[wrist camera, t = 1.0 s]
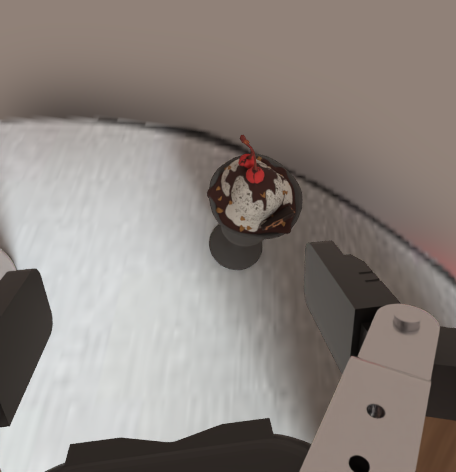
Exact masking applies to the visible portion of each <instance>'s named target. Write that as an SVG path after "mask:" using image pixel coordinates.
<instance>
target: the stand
mask: <svg viewBox="0 0 456 472" xmlns="http://www.w3.org/2000/svg"><path fill="white" fill-rule="evenodd" d="M415 472H456V421H453V420H447V419H440V418H433V417H426V416H425V420H424V426H423V431H422V437H421V443H420V448H419V454H418V459H417V465H416V471H415Z"/></svg>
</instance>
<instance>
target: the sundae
mask: <svg viewBox="0 0 456 472" xmlns="http://www.w3.org/2000/svg"><path fill="white" fill-rule="evenodd" d="M240 140H241V141H242V143H244V144H246V145H247V146H248V147H249V148H250V150H251V154H244V155H242V156H239V157H236V158H233V159H231V160H230V161H228V162H226V163H225V164H223V165H222V166H221V167H220V168H218V169H217V171H216V172H215V173H214V175H213V177H212V179H211V182H210V187H209V190H208V192H207V196H208V198H209V200H210V205H211V209H212V212H213V215H214V216H215V218H216V220H217V222H218V223H219V224H220V225H218V226H217V227H216V228H215V229H214V231H213V232H212V234H211V236H210V250H211V253H212V255H213V257H214V258H215V260H216V261H217V262H218V263H219V264H221V265H222V266H224V267H226V268H228V269H234V270H241V269H245V268H248V267H250V266H252V265H253V264H254V263H255V262H256V261H257V260H258V258H259V257H260V254H261V252H262V240H264V239H270V238H275V237H279V236H281V235H283V234H288V233H290V232H291V228H292V227H293V226H294V224H295V223H296V221H297V219H298V217H299V215H300V212H301V209H302V192H301V189H300V187H299V184H298V183H297V181H296V179H295V178H294V177H293V176H292V175H291V174H290V173H289V172H288V171H287V169H285V168H284V167H283V166H282V165H281V164H280V163H278V162H277V161H275V160H273V159H271V158H269V157H267V156H263V155H259V154H255V152H254V150H253V149H252V147H251V146H250V145H249V141H248V140H246V138H245V136H244V135H241V137H240Z"/></svg>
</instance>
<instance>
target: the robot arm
mask: <svg viewBox="0 0 456 472" xmlns="http://www.w3.org/2000/svg"><path fill="white" fill-rule="evenodd" d="M304 294H305V300H306V303H307V306H308V308H309V310H310V312H311V314H312V316H313V318H314V320H315V322H316V324H317V326H318V328H319V330H320V332H321V334H322V336H323V338H324V340H325V342H326V344H327V346H328V348H329V350H330V352H331V354H332V356H333V358H334V359H335V361H336V363H337V365H338V367H339V369H340V371H341V373H342V377H341V379H340V381H339V383H338V386H337V388H336V390H335V392H334V395H333V397H332V399H331V401H330V404H329V406H328V408H327V411H326V413H325V415H324V417H323V420H322V422H321V424H320V426H319V429H318V431H317V433H316V435H315V438H314V440H313V442H312V444H309V443H307V442H305V441H302V440H299V439H296V438H293V437H289V436H285V435H280V434H273V431H272V427H271V423H270V419H269V418H265V419H258V420H250V421H243V422H235V423H227V424H221V425H218V426H216V427H213V428H210V429H208V430H205V431H202V432H200V433H197V434H194V435H191V436H189V437H186V438H183V439H181V440H178V441H175V442H159V441H149V440H139V439H129V438H114V439H106V440H99V441H91V442H84V443H76V444H70V447H69V450H68V454H67V458H66V461H65V463H63V464H60V465H58V466H56V467H54V468H51V469H49V470H47V471H45V472H415V471H416V465H417V459H418V454H419V448H420V443H421V437H422V431H423V426H424V420H425V416H426V417H433V418H440V419H447V420H453V421H456V328H447V327H440V326H439V323H438V321H437V320H436V319H435V317H434V316H432V315H431V314H430V313H428V312H427V311H425V310H423V309H420V308H418V307H415V306H411V305H406V304H401V303H400V302H399V301H398V300H397V298H396V297H395V296H394V295H393V294H392V293H391V292H390V291H389V289H388V288H387V287H386V286H385V285H384V284H383V283H382V281H379V278H378V277H377V276H376V275H375V274H374V273H373V272H372V270H371V269H370V268H369V267H368V266H367V264H366V263H365V262H364V261H362V260H360V259H358V258H356V257H354V256H352V255H351V254H349V255H344V254H343V253H342V252H341V251H340V250H339V248H338V247H337V246H336V245H335V243H334V242H333V241H322V242H312V243H307V245H306V249H305V272H304ZM52 324H53V321H52V313H51V309H50V306H49V302H48V299H47V295H46V292H45V288H44V285H43V281H42V278H41V275H40V273H39V271H38V270H37V269H25V270H16V268H15V265H14V263H13V261H12V260H11V259H10V257H9V256H8V255H7V254H6V253H5V252H4V251H3V250H2V249H1V248H0V427H7V426H10V424H11V422H12V420H13V417H14V415H15V413H16V411H17V409H18V406H19V404H20V402H21V400H22V397H23V395H24V393H25V391H26V388H27V386H28V384H29V382H30V379H31V377H32V375H33V373H34V370H35V368H36V366H37V364H38V361H39V359H40V357H41V355H42V353H43V350H44V348H45V346H46V344H47V341H48V339H49V337H50V335H51V331H52ZM0 472H1V470H0Z"/></svg>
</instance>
